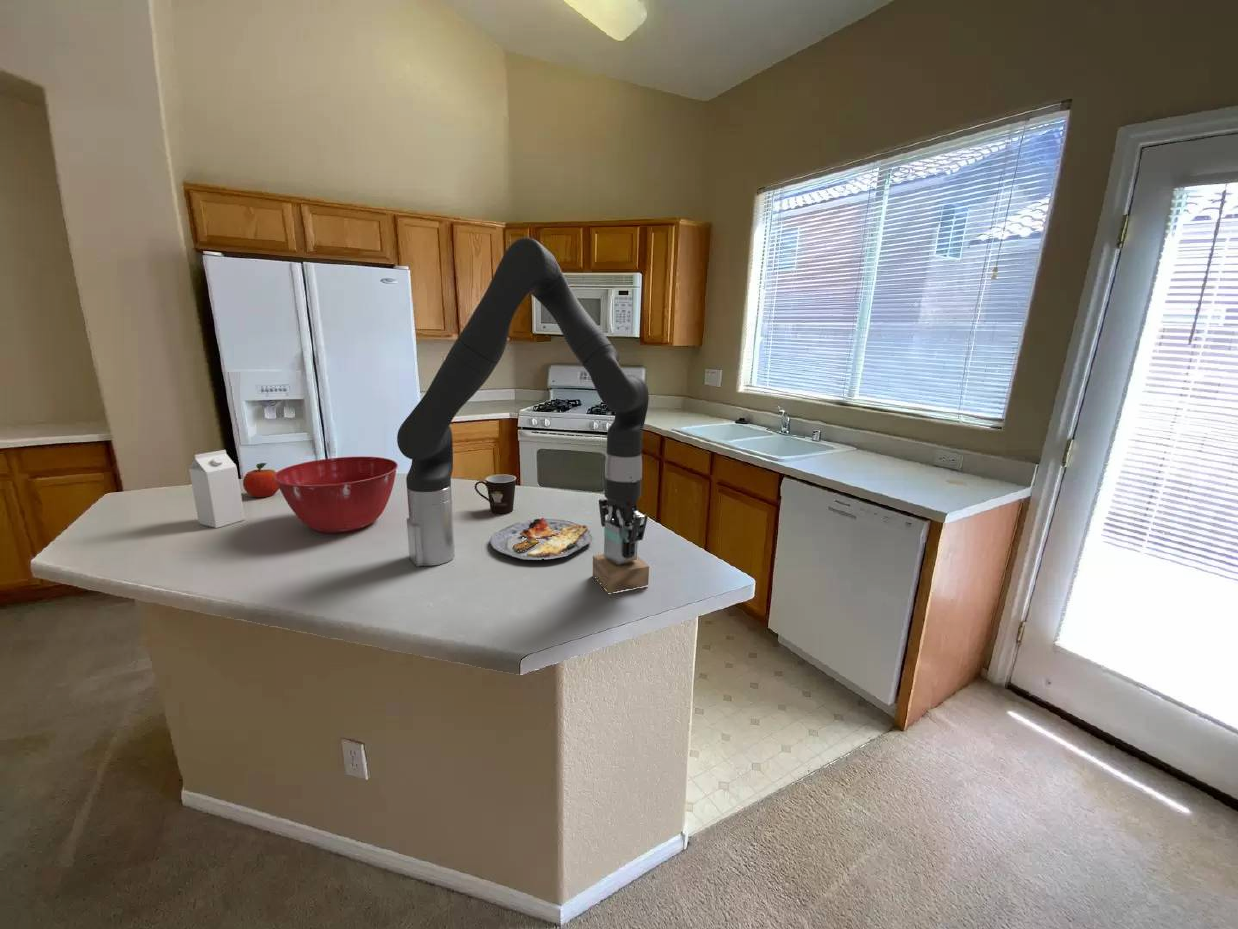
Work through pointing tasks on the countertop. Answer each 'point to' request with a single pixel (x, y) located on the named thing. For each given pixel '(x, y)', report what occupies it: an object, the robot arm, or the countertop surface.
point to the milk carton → (216, 489)
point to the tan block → (620, 574)
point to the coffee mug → (500, 493)
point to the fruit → (260, 482)
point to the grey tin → (616, 543)
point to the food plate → (542, 529)
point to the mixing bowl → (338, 491)
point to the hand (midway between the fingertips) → (620, 552)
